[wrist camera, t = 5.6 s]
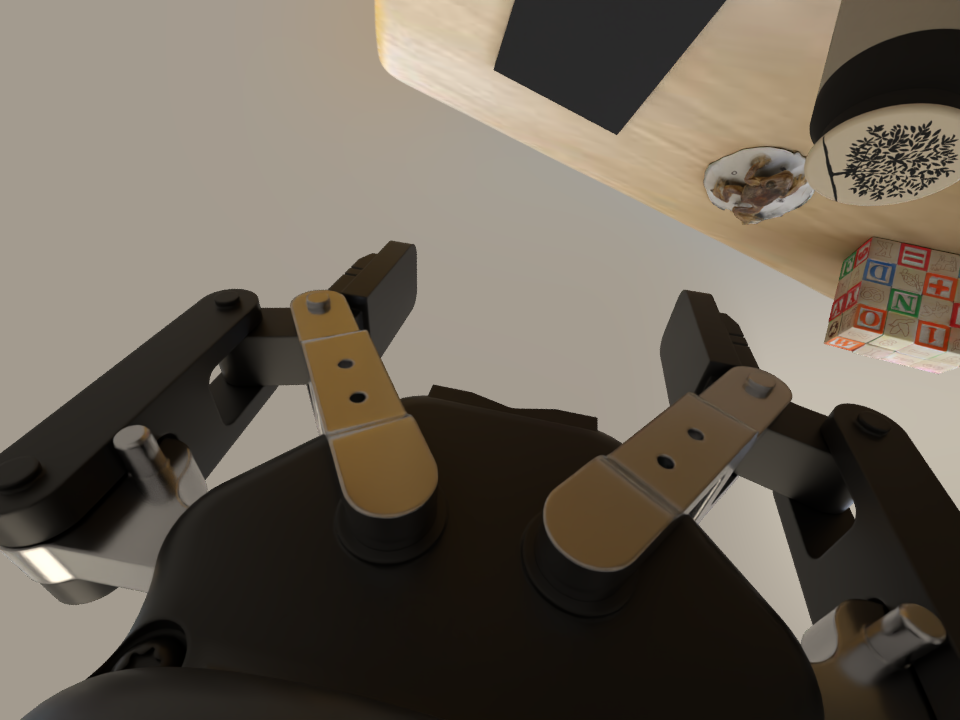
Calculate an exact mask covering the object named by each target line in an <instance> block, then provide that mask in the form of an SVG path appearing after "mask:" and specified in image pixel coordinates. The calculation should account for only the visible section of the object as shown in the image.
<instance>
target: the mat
mask: <svg viewBox="0 0 960 720" xmlns="http://www.w3.org/2000/svg"><path fill="white" fill-rule="evenodd" d="M725 1H726V0H515V2H514V5H513V9H512V12H511V15H510V18H509V22H508V25H507V28H506V31H505V35H504V38H503V41H502V44H501V47H500V51H499V54H498V57H497V60H496V64H495V67H494V70H495V71H497V72H499V73H500V74H502V75H504V76H506V77H508V78H510V79H512V80H514V81H516V82H517V83H519V84H521V85H523V86H525V87H527V88H529V89H531V90H533V91H534V92H536V93H538V94H540V95H542V96H544V97H546V98H548V99H550V100H551V101H553V102H555V103H557V104H559V105H561V106H563V107H565V108H567V109H568V110H570V111H572V112H574V113H576V114H578V115H580V116H582V117H584V118H586V119H587V120H589V121H591V122H593V123H595V124H597V125H599V126H601V127H603V128H604V129H606V130H608V131H610V132H612V133H614V134H616V135H617V134H618V133H619V132H620V131H621V130H622V128H623V127H624V126H625V125H626V123H627V122H628V121H629V120H630V118H631V117H632V116H633V115H634V113H635V112H636V111H637V110H638V109H639V107H640V106H641V105H642V104H643V102H644V101H645V100H646V99H647V97H648V96H649V95H650V94H651V93H652V91H653V90H654V89H655V88H656V86H657V85H658V84H659V83H660V81H661V80H662V79H663V78H664V76H665V75H666V74H667V73H668V72H669V70H670V69H671V68H672V67H673V65H674V64H675V63H676V62H677V60H678V59H679V58H680V57H681V55H682V54H683V53H684V52H685V51H686V49H687V48H688V47H689V46H690V44H691V43H692V42H693V41H694V39H695V38H696V37H697V36H698V35H699V33H700V32H701V31H702V30H703V28H704V27H705V26H706V25H707V23H708V22H709V21H710V20H711V18H712V17H713V16H714V15H715V14H716V12H717V11H718V10H719V9H720V7H721V6H722V5H723V4H724V2H725Z"/></svg>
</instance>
